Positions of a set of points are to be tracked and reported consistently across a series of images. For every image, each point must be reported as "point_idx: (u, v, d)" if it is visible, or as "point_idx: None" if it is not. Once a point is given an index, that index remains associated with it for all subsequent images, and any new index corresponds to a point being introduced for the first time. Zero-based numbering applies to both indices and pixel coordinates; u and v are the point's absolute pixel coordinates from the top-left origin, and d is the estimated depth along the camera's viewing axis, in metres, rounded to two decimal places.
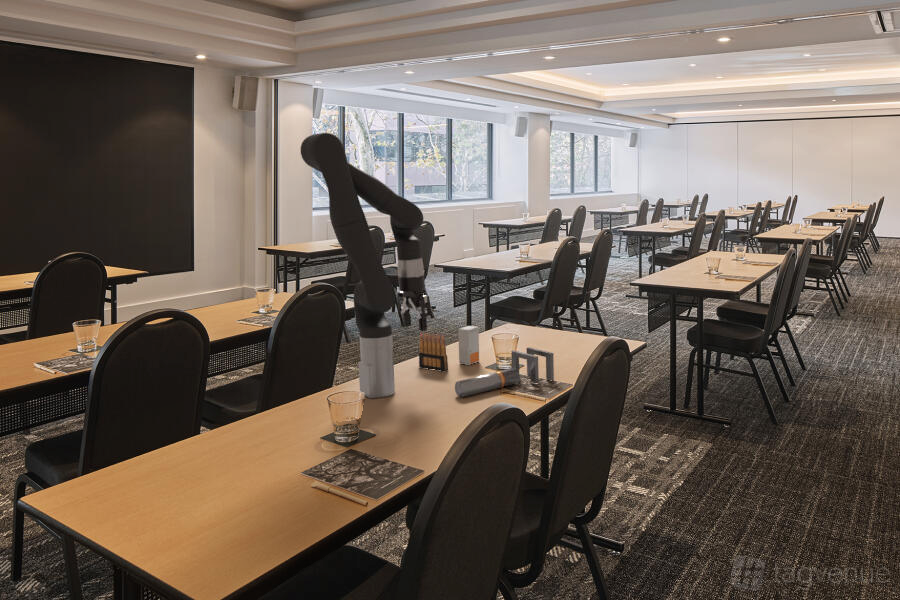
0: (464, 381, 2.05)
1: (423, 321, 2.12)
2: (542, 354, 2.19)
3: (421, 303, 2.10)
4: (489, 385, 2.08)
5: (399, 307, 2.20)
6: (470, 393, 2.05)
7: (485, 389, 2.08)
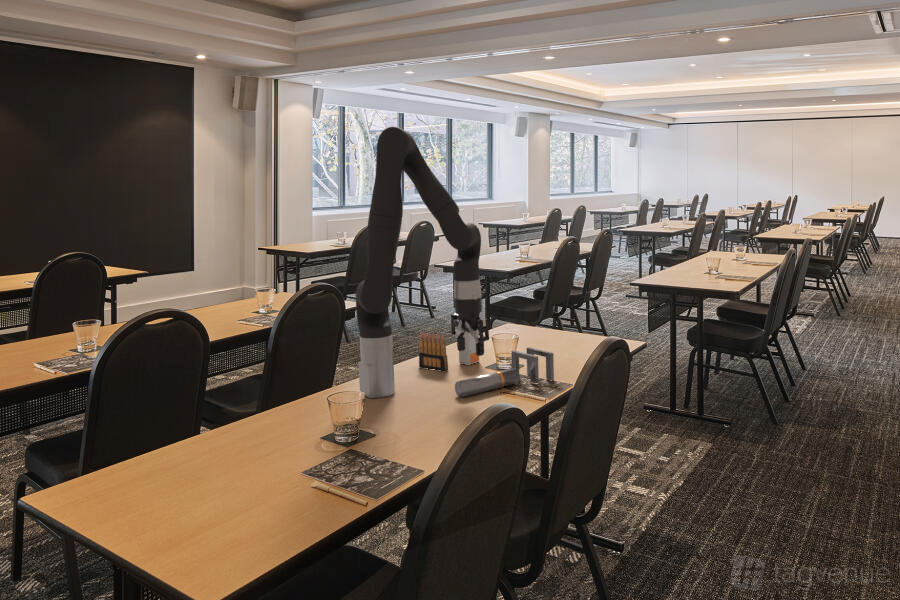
0: (464, 381, 2.05)
1: (481, 346, 2.01)
2: (542, 354, 2.19)
3: (479, 327, 1.99)
4: (489, 385, 2.08)
5: (453, 330, 2.09)
6: (470, 393, 2.05)
7: (485, 389, 2.08)
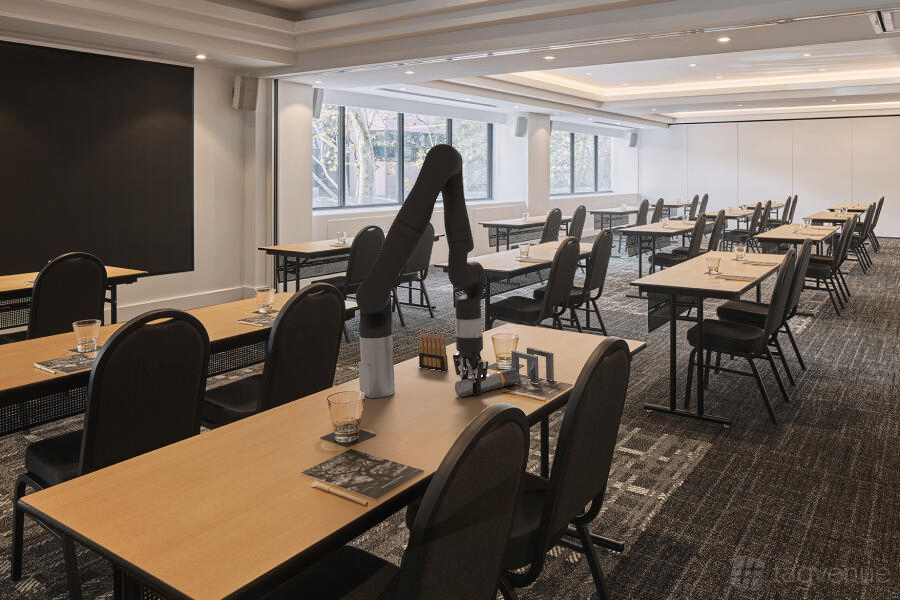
0: (464, 381, 2.05)
1: (477, 385, 2.04)
2: (542, 354, 2.19)
3: (479, 368, 2.01)
4: (489, 385, 2.08)
5: (457, 370, 2.10)
6: (470, 393, 2.05)
7: (485, 389, 2.08)
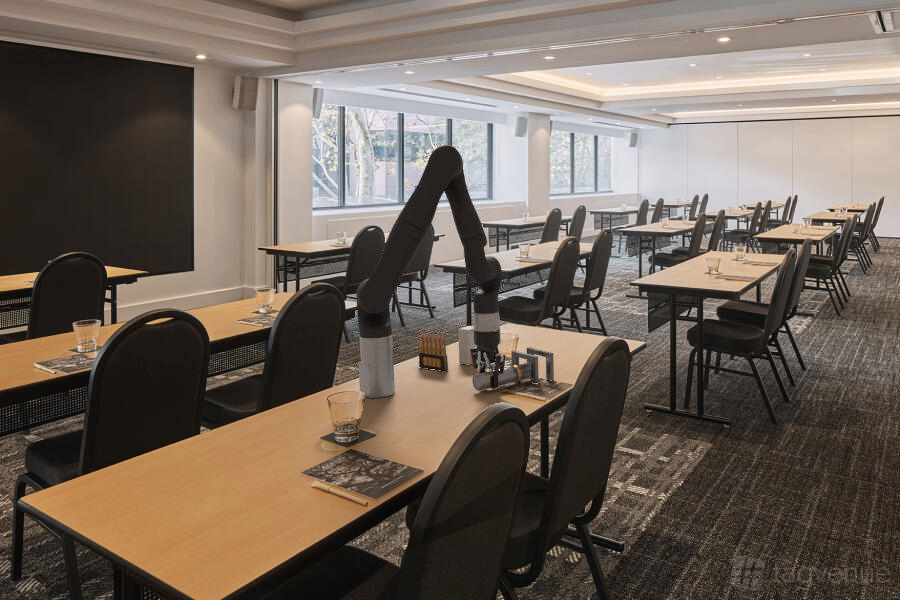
0: (481, 374, 2.08)
1: (495, 379, 2.07)
2: (542, 354, 2.19)
3: (497, 362, 2.04)
4: (506, 379, 2.11)
5: (475, 364, 2.13)
6: (487, 386, 2.08)
7: (502, 382, 2.11)
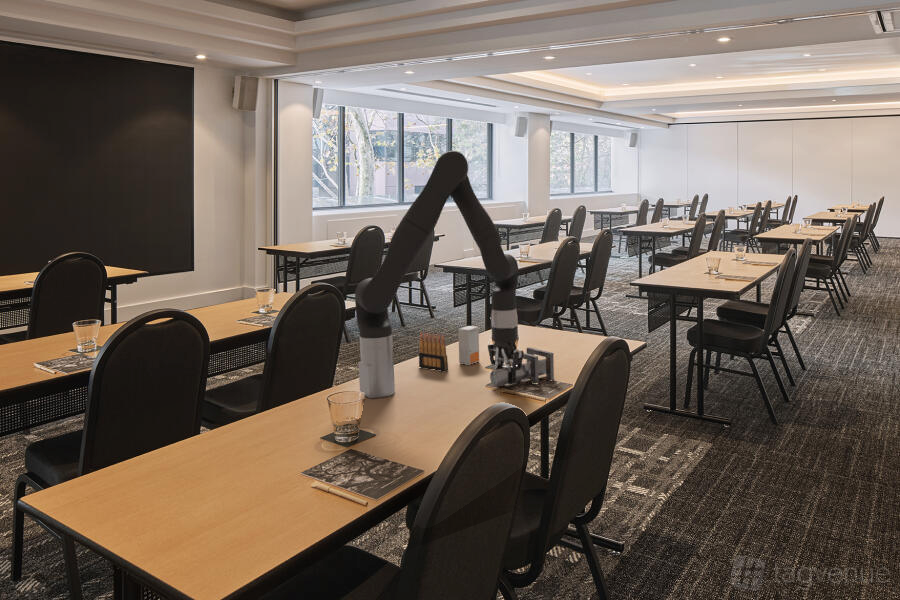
0: (499, 370, 2.12)
1: (512, 374, 2.11)
2: (542, 354, 2.19)
3: (515, 358, 2.08)
4: (523, 374, 2.15)
5: (492, 360, 2.17)
6: (505, 382, 2.12)
7: (519, 378, 2.15)
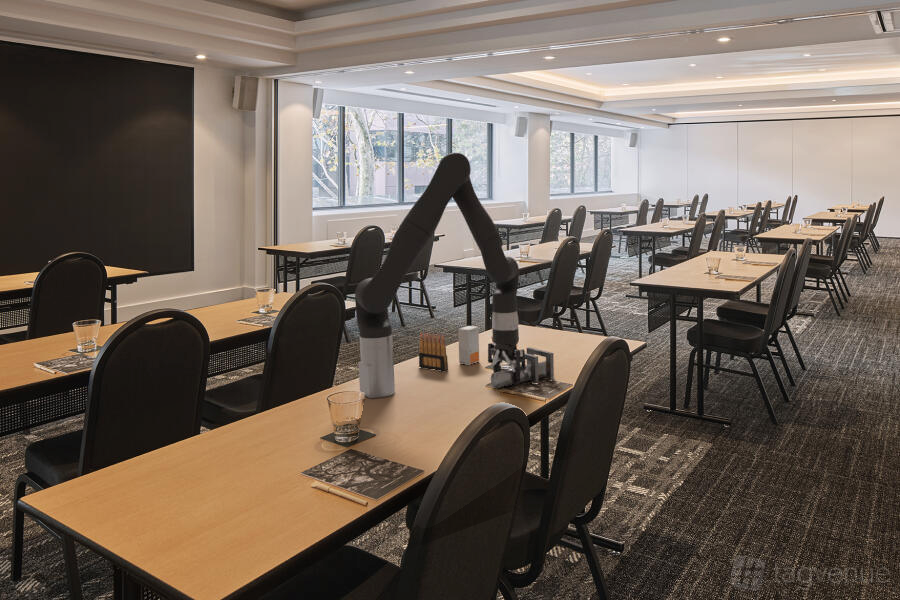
0: (500, 373, 2.12)
1: (517, 375, 2.10)
2: (542, 354, 2.19)
3: (517, 357, 2.08)
4: (524, 377, 2.15)
5: (489, 358, 2.18)
6: (506, 384, 2.12)
7: (520, 380, 2.15)
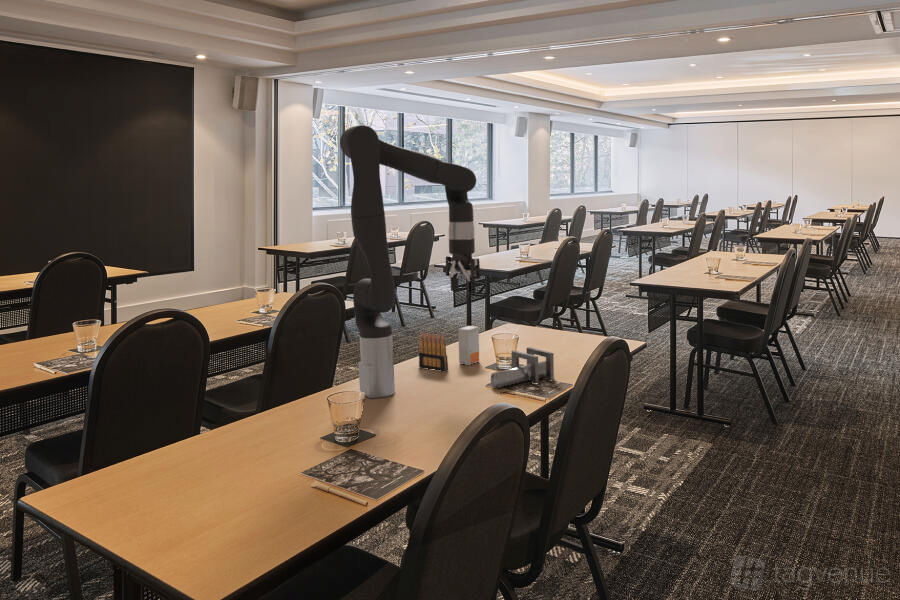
0: (500, 372, 2.12)
1: (472, 284, 2.12)
2: (542, 354, 2.19)
3: (471, 265, 2.10)
4: (523, 377, 2.15)
5: (447, 271, 2.21)
6: (506, 384, 2.12)
7: (520, 380, 2.15)
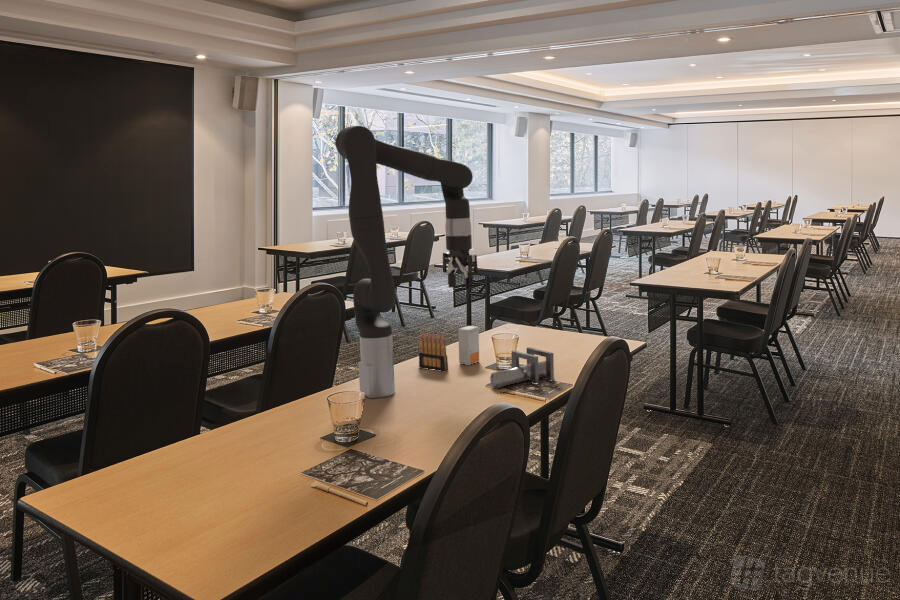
0: (499, 372, 2.13)
1: (469, 280, 2.13)
2: (542, 354, 2.19)
3: (469, 262, 2.10)
4: (523, 376, 2.16)
5: (444, 268, 2.21)
6: (506, 383, 2.12)
7: (520, 380, 2.15)
